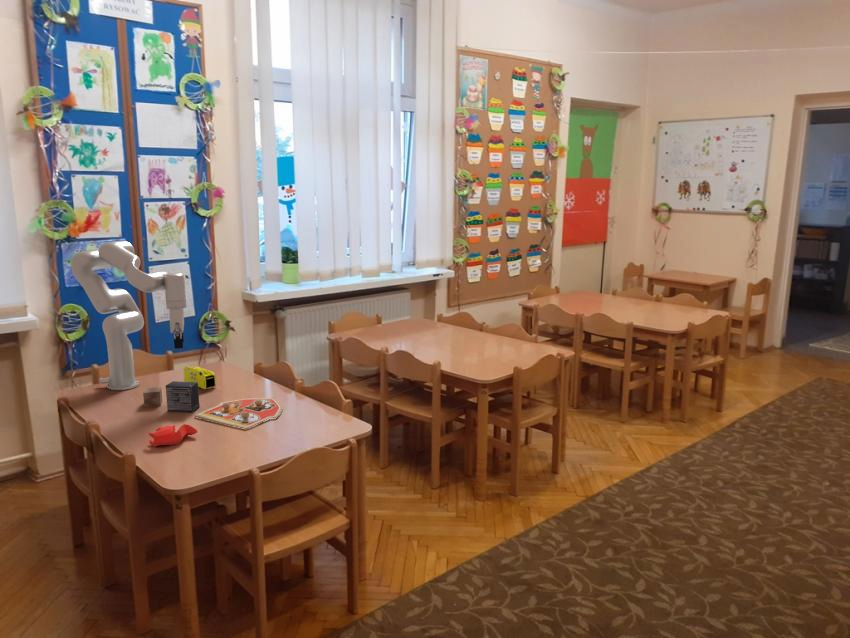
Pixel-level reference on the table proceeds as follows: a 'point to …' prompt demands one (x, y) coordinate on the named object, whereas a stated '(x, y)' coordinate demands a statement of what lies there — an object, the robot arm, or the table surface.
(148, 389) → the walnut cube
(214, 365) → the table surface
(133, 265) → the robot arm
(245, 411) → the knob puzzle
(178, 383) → the small box
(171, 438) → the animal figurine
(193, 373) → the yellow toy chassis
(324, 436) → the table surface
